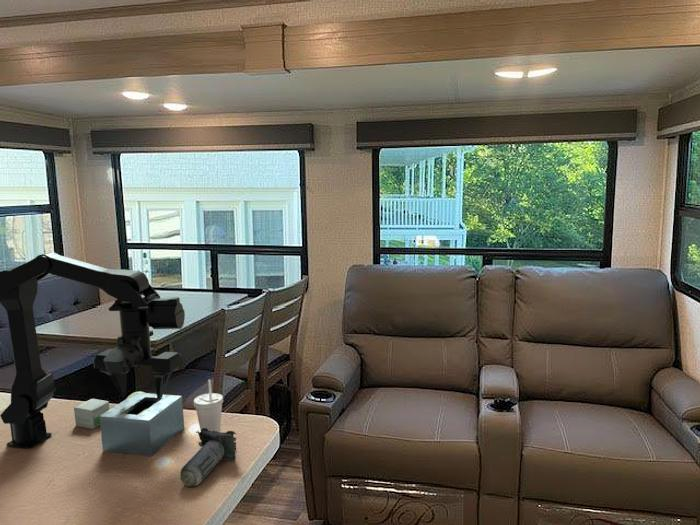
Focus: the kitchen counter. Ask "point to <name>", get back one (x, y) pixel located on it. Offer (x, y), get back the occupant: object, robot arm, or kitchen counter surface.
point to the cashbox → (142, 424)
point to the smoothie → (209, 410)
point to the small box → (90, 413)
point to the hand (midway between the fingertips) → (141, 397)
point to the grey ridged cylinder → (208, 455)
